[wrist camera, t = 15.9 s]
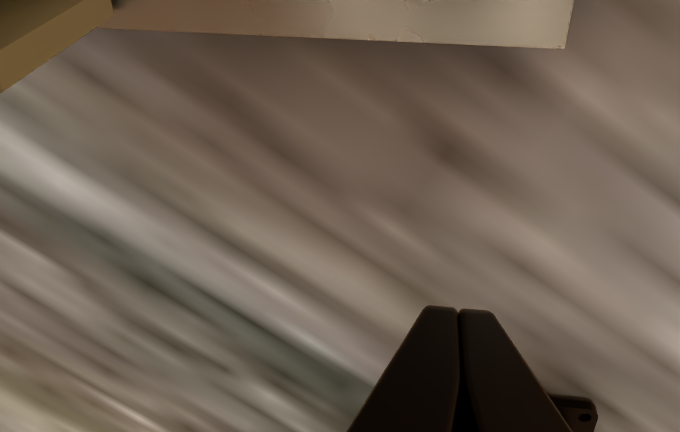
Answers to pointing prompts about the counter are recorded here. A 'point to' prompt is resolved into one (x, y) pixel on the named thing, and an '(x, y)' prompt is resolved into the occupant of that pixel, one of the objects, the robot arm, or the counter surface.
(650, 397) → the counter surface
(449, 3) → the housing base
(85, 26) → the cover
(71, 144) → the counter surface
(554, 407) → the robot arm
